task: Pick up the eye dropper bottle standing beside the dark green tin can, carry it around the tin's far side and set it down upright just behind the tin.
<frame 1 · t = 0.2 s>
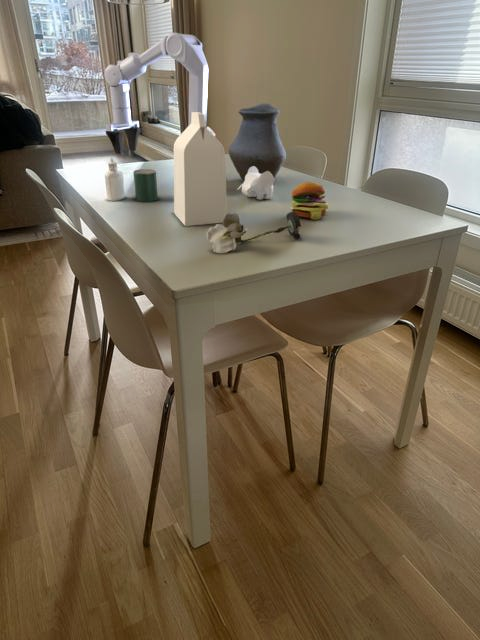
hand: (125, 152, 153), 10 cm above the table, tool pointing down, fingers open, 7 cm apart
artificial flower: (255, 245, 106), on the table
grey clay vase: (256, 180, 165), on the table
cheeseburger: (307, 215, 128), on the table
eye dropper bottle: (116, 199, 139), on the table
elephant figurine: (256, 198, 143), on the table
milk: (200, 218, 123), on the table
green tin can: (146, 199, 139), on the table
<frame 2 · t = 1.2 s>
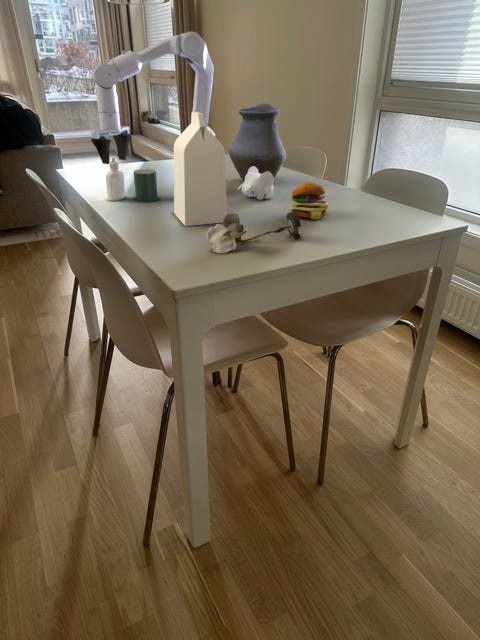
hand: (114, 161, 136), 10 cm above the table, tool pointing down, fingers open, 7 cm apart
nothing on the table moved.
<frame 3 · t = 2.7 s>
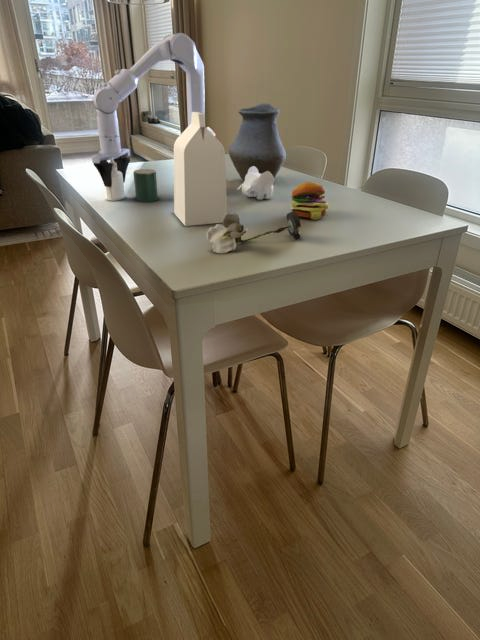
hand: (114, 184, 136), 4 cm above the table, tool pointing down, fingers closed on eye dropper bottle, 5 cm apart
eye dropper bottle: (116, 199, 139), on the table, touching gripper
everything else where it was.
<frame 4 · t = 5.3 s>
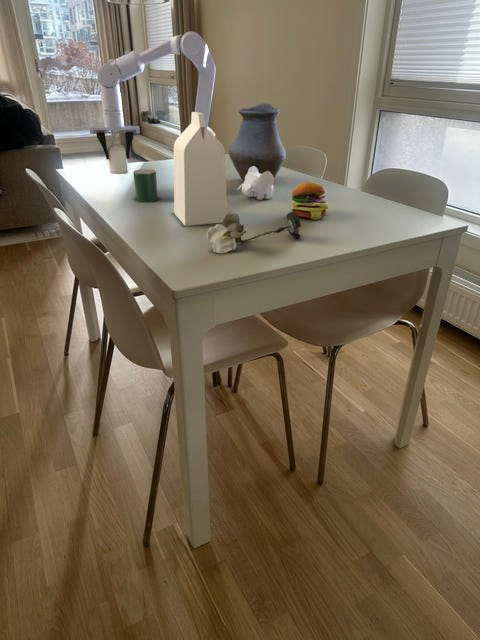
hand: (118, 158, 141), 10 cm above the table, tool pointing down, fingers closed on eye dropper bottle, 5 cm apart
eye dropper bottle: (119, 173, 143), point 6 cm above the table, touching gripper
everything else where it was.
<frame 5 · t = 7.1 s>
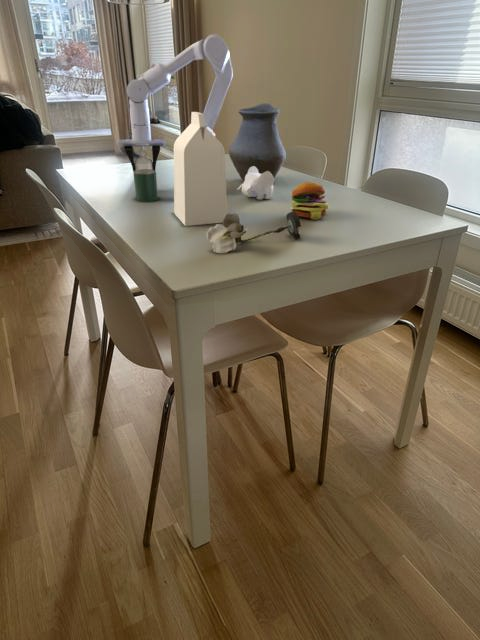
hand: (144, 170, 144), 7 cm above the table, tool pointing down, fingers closed on eye dropper bottle, 5 cm apart
eye dropper bottle: (145, 185, 146), point 2 cm above the table, touching gripper
everything else where it was.
when the fingers open (4 cm above the table, at t = 8.3 s): eye dropper bottle stays where it is, on the table.
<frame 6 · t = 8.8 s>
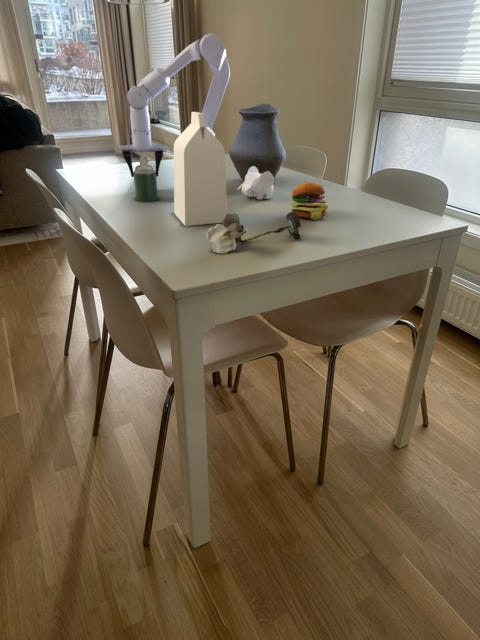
hand: (144, 176, 145), 5 cm above the table, tool pointing down, fingers open, 7 cm apart
eye dropper bottle: (146, 192, 147), on the table
everything else where it was.
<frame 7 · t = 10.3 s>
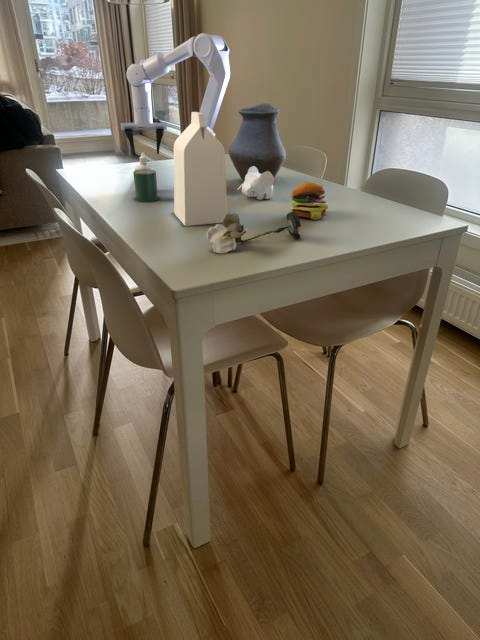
hand: (146, 153, 150), 10 cm above the table, tool pointing down, fingers open, 7 cm apart
nothing on the table moved.
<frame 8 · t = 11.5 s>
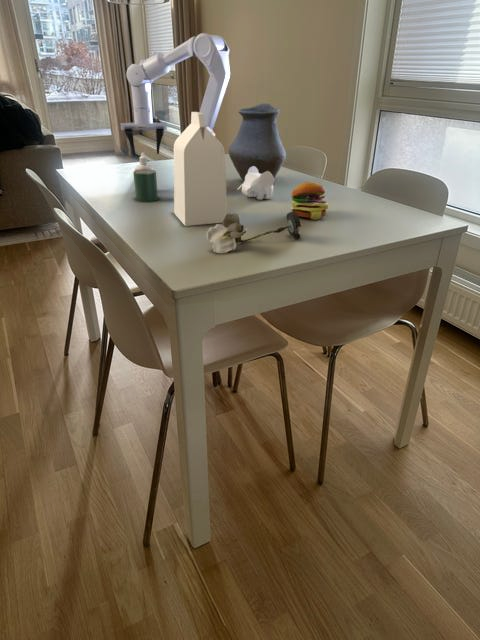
hand: (146, 153, 150), 10 cm above the table, tool pointing down, fingers open, 7 cm apart
nothing on the table moved.
at the end: eye dropper bottle inside the target area on the table beside the green tin can (0.3 cm from its centre), on the table; eye dropper bottle tilted 0°; green tin can moved 0.0 cm from its start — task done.
